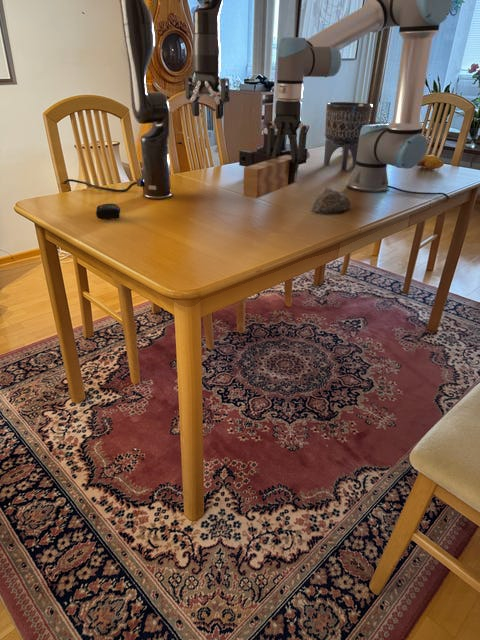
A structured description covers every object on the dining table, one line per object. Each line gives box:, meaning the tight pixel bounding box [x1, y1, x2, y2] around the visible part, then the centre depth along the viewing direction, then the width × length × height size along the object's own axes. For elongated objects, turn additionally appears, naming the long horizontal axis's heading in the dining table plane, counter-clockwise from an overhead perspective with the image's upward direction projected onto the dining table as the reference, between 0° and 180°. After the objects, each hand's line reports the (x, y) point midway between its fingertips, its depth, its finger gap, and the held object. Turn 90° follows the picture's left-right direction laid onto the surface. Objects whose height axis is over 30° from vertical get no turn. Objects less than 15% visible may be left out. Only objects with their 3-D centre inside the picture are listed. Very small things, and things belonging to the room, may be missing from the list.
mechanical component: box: [238, 125, 311, 168], centre depth 191 cm, size 22×21×30 cm
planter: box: [323, 101, 374, 172], centre depth 204 cm, size 20×20×26 cm
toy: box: [416, 154, 445, 171], centre depth 211 cm, size 11×6×15 cm
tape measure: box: [95, 203, 121, 221], centre depth 137 cm, size 7×7×4 cm
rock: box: [312, 187, 352, 214], centre depth 148 cm, size 13×9×6 cm, turn 131°
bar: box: [242, 155, 299, 199], centre depth 136 cm, size 24×4×8 cm, turn 146°
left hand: (207, 117), depth 134 cm, fingers open, 8 cm apart
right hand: (283, 181), depth 143 cm, fingers closed on bar, 5 cm apart
